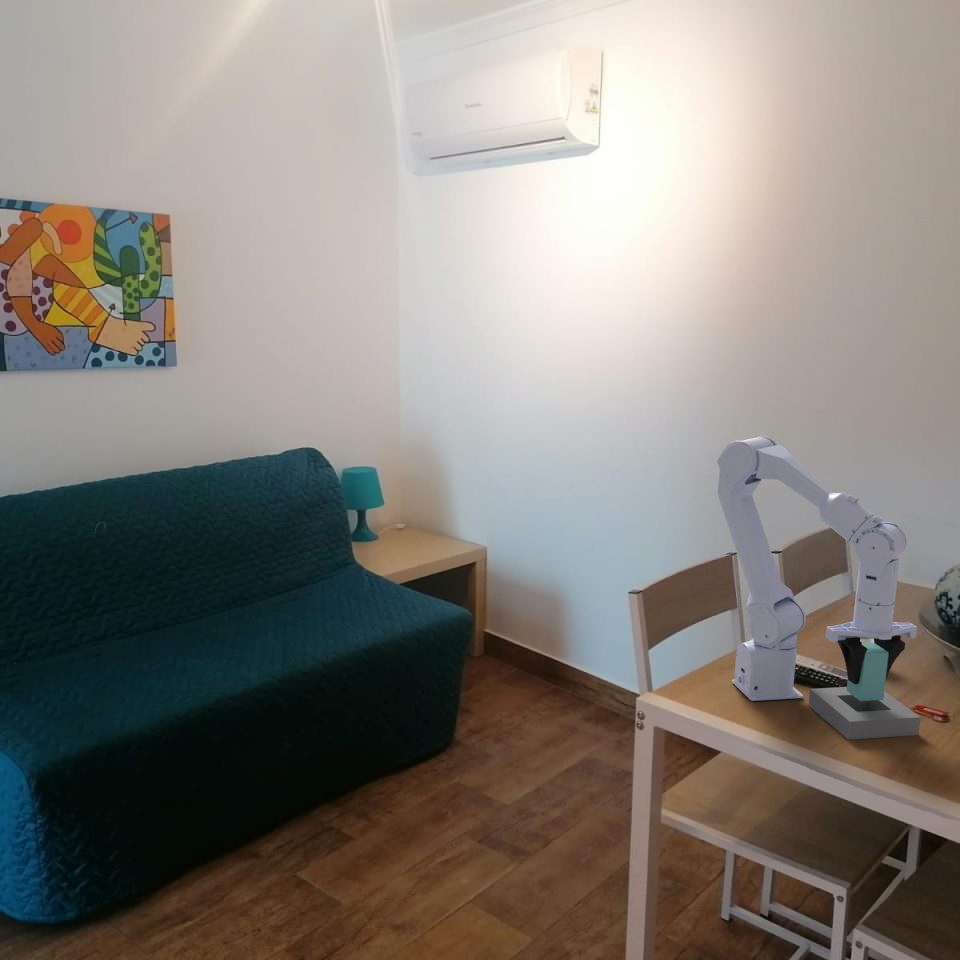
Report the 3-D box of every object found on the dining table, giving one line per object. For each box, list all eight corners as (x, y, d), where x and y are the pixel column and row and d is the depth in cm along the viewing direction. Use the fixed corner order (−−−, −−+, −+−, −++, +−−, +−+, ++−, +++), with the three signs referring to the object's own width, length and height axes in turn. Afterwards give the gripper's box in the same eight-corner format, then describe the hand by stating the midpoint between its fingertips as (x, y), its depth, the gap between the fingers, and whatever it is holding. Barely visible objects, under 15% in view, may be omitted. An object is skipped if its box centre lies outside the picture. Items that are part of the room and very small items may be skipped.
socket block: (847, 739, 143) (849, 721, 143) (808, 705, 155) (810, 688, 154) (918, 734, 145) (920, 717, 145) (874, 701, 157) (876, 685, 156)
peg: (860, 701, 147) (865, 653, 145) (846, 690, 151) (851, 644, 149) (883, 699, 148) (888, 652, 146) (869, 689, 151) (874, 642, 150)
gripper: (846, 610, 141) (837, 693, 144) (932, 606, 143) (922, 688, 146) (822, 595, 148) (814, 675, 150) (905, 592, 150) (896, 670, 153)
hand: (866, 680), depth 149 cm, fingers closed on peg, 4 cm apart
